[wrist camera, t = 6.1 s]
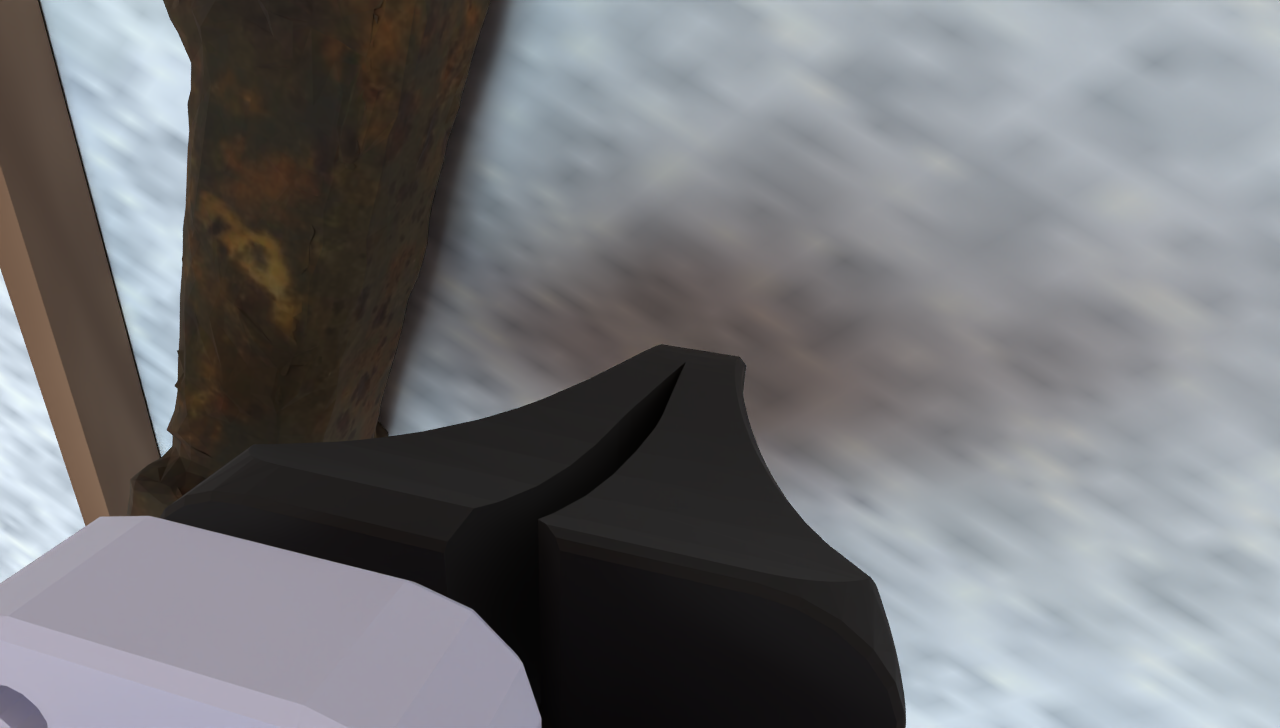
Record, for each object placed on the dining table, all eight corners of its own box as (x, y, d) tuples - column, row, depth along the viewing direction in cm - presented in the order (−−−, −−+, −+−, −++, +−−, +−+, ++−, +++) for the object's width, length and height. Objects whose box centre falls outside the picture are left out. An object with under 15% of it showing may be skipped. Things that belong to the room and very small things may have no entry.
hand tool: (375, -522, 10) (8, -884, 6) (663, -394, 9) (492, -680, 5) (216, 528, 19) (34, 673, 15) (358, 608, 19) (212, 777, 15)
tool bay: (491, -820, 8) (417, -974, 7) (533, 822, 20) (508, 880, 19) (-192, -685, 10) (-346, -782, 9) (207, 721, 22) (165, 767, 21)
